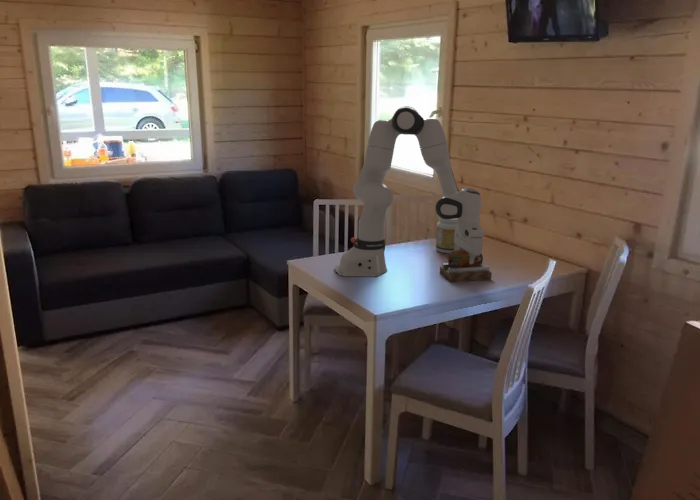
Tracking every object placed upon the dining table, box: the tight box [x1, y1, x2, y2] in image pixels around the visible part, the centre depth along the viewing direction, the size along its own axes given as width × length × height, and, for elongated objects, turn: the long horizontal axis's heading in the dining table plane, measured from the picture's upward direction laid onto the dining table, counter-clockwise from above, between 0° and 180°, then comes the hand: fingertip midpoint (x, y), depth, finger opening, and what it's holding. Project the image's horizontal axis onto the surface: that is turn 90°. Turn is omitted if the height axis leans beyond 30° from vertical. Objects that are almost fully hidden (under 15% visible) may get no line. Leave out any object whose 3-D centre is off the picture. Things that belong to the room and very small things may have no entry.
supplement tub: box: [435, 216, 458, 255], centre depth 288 cm, size 12×12×17 cm
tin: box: [447, 250, 484, 268], centre depth 252 cm, size 15×3×8 cm, turn 103°
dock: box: [439, 261, 492, 283], centre depth 253 cm, size 18×12×5 cm, turn 103°
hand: (466, 260), depth 251 cm, fingers open, 8 cm apart
